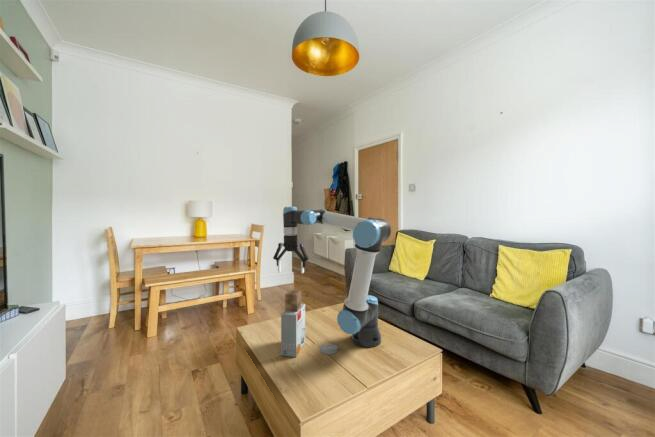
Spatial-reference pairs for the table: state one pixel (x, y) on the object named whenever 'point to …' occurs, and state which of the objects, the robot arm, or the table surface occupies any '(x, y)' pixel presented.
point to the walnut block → (292, 300)
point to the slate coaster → (328, 348)
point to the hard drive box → (292, 331)
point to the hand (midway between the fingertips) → (291, 272)
